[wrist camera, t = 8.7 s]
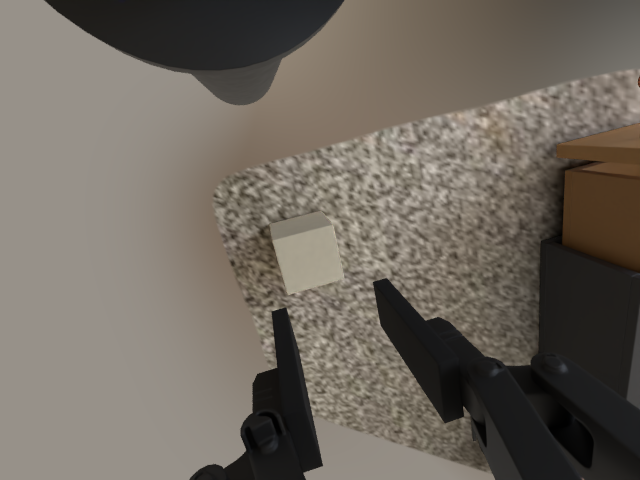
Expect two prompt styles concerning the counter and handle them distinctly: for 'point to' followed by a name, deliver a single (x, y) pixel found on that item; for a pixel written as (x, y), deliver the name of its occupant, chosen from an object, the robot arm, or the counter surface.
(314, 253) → the block
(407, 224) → the counter surface
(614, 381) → the cabinet
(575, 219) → the drawer
